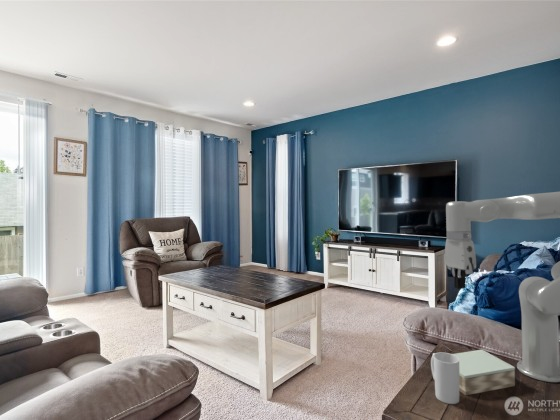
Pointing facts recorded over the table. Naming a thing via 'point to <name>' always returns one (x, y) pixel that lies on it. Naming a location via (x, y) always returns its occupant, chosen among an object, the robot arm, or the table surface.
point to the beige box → (486, 382)
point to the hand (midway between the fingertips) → (459, 287)
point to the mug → (446, 377)
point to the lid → (480, 364)
